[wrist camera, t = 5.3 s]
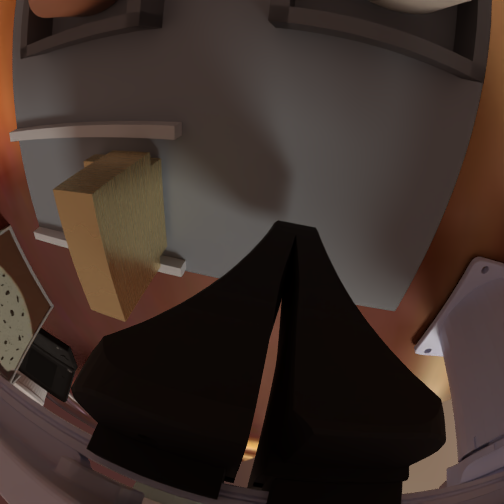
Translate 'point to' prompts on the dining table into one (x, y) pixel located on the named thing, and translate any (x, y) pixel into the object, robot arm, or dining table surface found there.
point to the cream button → (417, 5)
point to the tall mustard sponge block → (114, 227)
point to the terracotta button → (68, 7)
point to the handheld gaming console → (50, 365)
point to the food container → (18, 305)
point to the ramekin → (30, 388)
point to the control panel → (261, 122)
